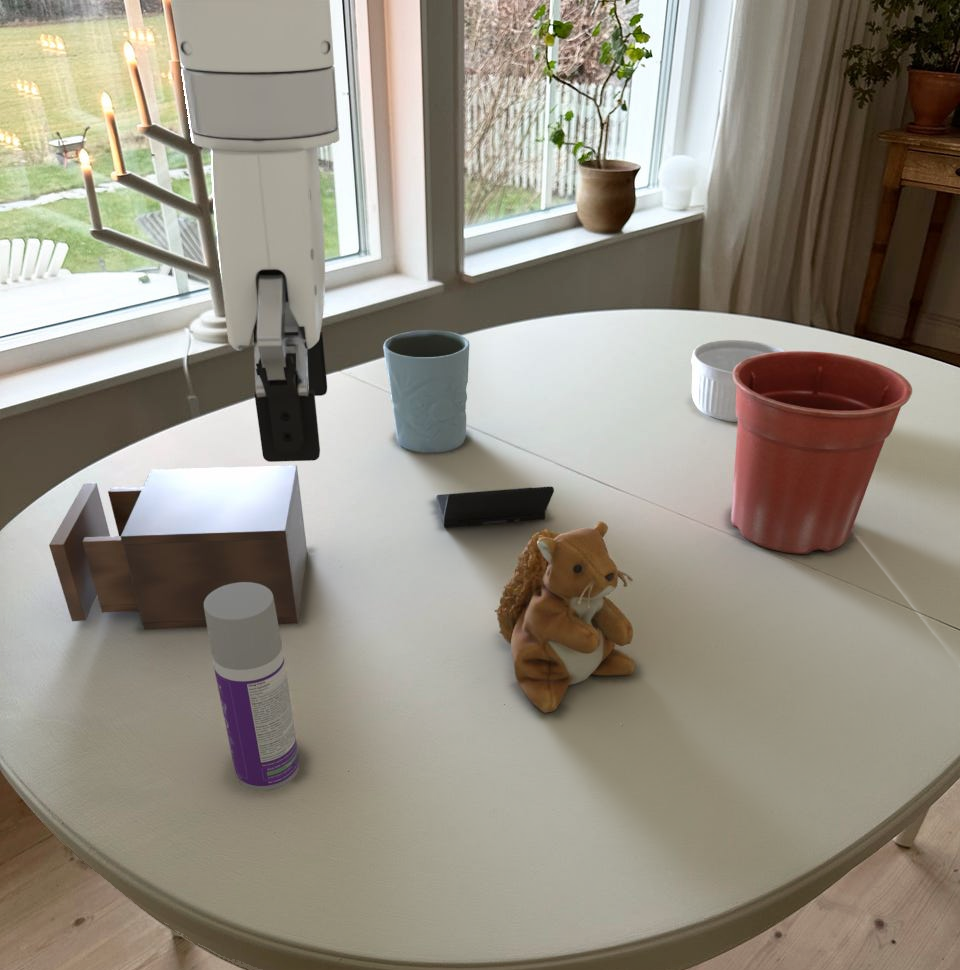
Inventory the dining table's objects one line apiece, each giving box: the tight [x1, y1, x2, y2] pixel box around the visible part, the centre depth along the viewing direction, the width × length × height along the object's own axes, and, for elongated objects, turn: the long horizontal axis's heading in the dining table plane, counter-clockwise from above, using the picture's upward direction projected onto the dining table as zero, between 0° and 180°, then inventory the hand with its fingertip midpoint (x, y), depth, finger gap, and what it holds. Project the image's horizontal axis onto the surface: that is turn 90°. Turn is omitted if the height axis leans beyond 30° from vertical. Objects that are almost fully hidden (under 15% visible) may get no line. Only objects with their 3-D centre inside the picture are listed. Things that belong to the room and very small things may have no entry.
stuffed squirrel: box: [494, 520, 636, 714], centre depth 78 cm, size 10×14×13 cm
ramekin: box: [691, 339, 786, 423], centre depth 125 cm, size 13×13×7 cm
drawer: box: [48, 482, 143, 622], centre depth 87 cm, size 14×11×8 cm
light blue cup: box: [382, 329, 470, 454], centre depth 115 cm, size 10×10×12 cm
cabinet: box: [121, 464, 308, 631], centre depth 88 cm, size 14×13×10 cm
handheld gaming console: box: [436, 486, 555, 529], centre depth 100 cm, size 12×7×10 cm
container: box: [204, 582, 300, 792], centre depth 66 cm, size 5×5×15 cm
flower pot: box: [730, 350, 913, 555], centre depth 96 cm, size 16×16×16 cm
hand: (298, 424), depth 59 cm, fingers open, 9 cm apart
